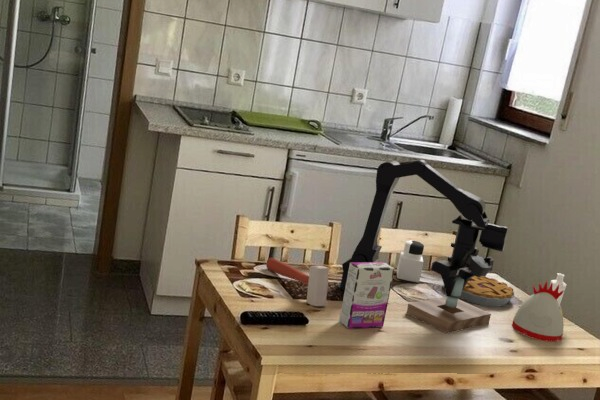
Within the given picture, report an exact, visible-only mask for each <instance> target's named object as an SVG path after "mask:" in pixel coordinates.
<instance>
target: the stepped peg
mask: <svg viewBox="0 0 600 400" xmlns="http://www.w3.org/2000/svg"><path fill="white" fill-rule="evenodd" d="M463 284H464V279H463V278H459V279H457V280H456V282H455V285H454V288H453V291H452V294H451V296H450V297H448V296H447V295H446V297H447V298H446V302H445V305H446V306H448V307H452V308H456V307H457V303H458V299H461V298H460V297H461V292H462V288H463Z"/></svg>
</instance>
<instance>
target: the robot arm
mask: <svg viewBox="0 0 600 400" xmlns="http://www.w3.org/2000/svg"><path fill="white" fill-rule="evenodd" d="M409 176H418V177H419V178H420V179H422V180H423V181H424V182H426V183H427V184H428V185H429V186H431V187H432V188H433V189H434V190H436V191H437V192H439V194H441V195H442V196H444V197H446V199H448V200H449V201H450V202H451V203H452V204H453V206H454V207H455V209H456V210H457V211H458V212H459V213H460V214H459V215H458V216H457V217H456V218H453V220H451V222H452V224H455V225H458V227H457V231H456V235H455V240H454V242H451V243H450V247H451V248H453V249H452V252H451V256H448V257H447V259H446V260H447V261H446V260H444V259H439V260H434V261H433V262H432V263H431V267H430V270H431V271H433V272H434V273H437V274H438V275H439V274H440V277H441V279H442V282H443V287H444V291H445V295H446V297H447V296H448V297H450V296H451V294H452V291H453V288H454V285H455V282H456V280H457V279H459V278H463V279H464V284H463V288H462V290H463V289H464V287H465V285H466V284H467V282H468V281H469V279H470V278H472V277H474V276H476V277H481V276H486V277H487V275H488V273H489V272H492V271H493V267H494V261H495V260H494V258H492V257H491V256H487V257H485V258H484V256H480V255H479V251H480V250H479V248H478V247H476V245H477V241H478V243H480V245H482V246H481V247H482V248H487V249H489V250H493V251H497V252H502V253H503V252H504V250H505V246H506V243H507V239H508V237H507V235H508V230H509V227H508V226H505V225H498V224H493V223H490V220H489V217H488V215H487V213H486V209H487V208H486V203H485V201H484V200H483V199H482V198H481V197H479V196H477V195H476V194H473V193H472V192H469V191H467V190H464V189H462V188H460V187H459V186H457V185H456V184H455V183H453V182H452V181H451V180H449V179H448V178H446V177H445V176H444V175H443V174H441V173H440V172H439V171H437V170H436V169H435V168H433V167H432V166H431V165H429V164H428V162H427V161H426V160H424V159H417V160H413V161H410V160H409V161H403V162H399V161H397V160H393V159H392V160H387V161H385V162H382V163H381V164H379V166H378V167H377V169H376V176H375V194H374V197H373V201H372V203H371V204H372V205H371V208H370V211H369V213H368V218H367V221H366V224H365V228H364V230H363V231H364V232H363V235H362V236H361V239H360V240H359V242H358V244H357V245H356V247H355V249H354V250H353V253H352V255H351V257H350V258H349V259H347V260H346V261H345V262H343V263H342V264H341V268H342V275H341V281H340V284H336V286H335V287H336V288H337V289H340V290H341V291H343V292H345V287H346V281H347V276H348V270H349V265H350V262H377V261H378V259H379V257H380V256H379V254H380V251H381V250H382V247H383V246H382V245H379V244H378V238H379V234H380V230H381V227H382V224H383V220H384V217H385V214H386V210H387V207H388V204H389V201H390V198H391V194H392V193H393V191H394V189H395V187H396V186H397V184H398V182H399V180H400V179H401V178H405V177H409ZM480 231H481V232H480ZM479 234H480V235H479ZM478 237H479V239H478Z"/></svg>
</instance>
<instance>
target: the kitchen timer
mask: <svg viewBox="0 0 600 400" xmlns="http://www.w3.org/2000/svg"><path fill="white" fill-rule="evenodd" d="M552 286H553V284H552V283H551V285H550V284H549V288H548V280H546V281H545V283H544V285H543V287H542V285H541V282H539V284H538V290H537V289H536V286H535V285H533V286H532V288H533V289H532V290H533V294H531V295H530V296H527V298H526V299H524V301H523V302H522V303H521V305H520V306H519V308H518V309H517V311H516V313H515V314H514V317H513V320H512V324H511V326H512V327H513V329H514V330H515V329H516V332H518V333H520V334H523V335H524V336H527V337H529V338H532V339H535V340H539V341H544V342H559V341H561V340H562V338H563V335H564V315H565V313H564V311H563V309H562V306H561V303H560V304H559V302H558V301H557V299H558V297H559V296H560V295H561V294H562V293H563V291H564V290H563V291H561V292H560V293H559V292H558V289H559V285H558V286H557V287H556V289H555V290H554V291H553V290H552ZM564 292H565V291H564Z"/></svg>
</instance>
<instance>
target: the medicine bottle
mask: <svg viewBox="0 0 600 400" xmlns="http://www.w3.org/2000/svg"><path fill="white" fill-rule="evenodd" d="M424 248H425V246H424V243H422V242H420V241H417V240H406V241H405V243H404V247H403V251H401V252H400V254H399V258H398V262H397V268H396V278H397V279H399V280H403V281H408V282H413V283H418V284H419V283H420V280H421V275H422V270H423V265H424V258H423V253H424V250H425V249H424Z"/></svg>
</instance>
